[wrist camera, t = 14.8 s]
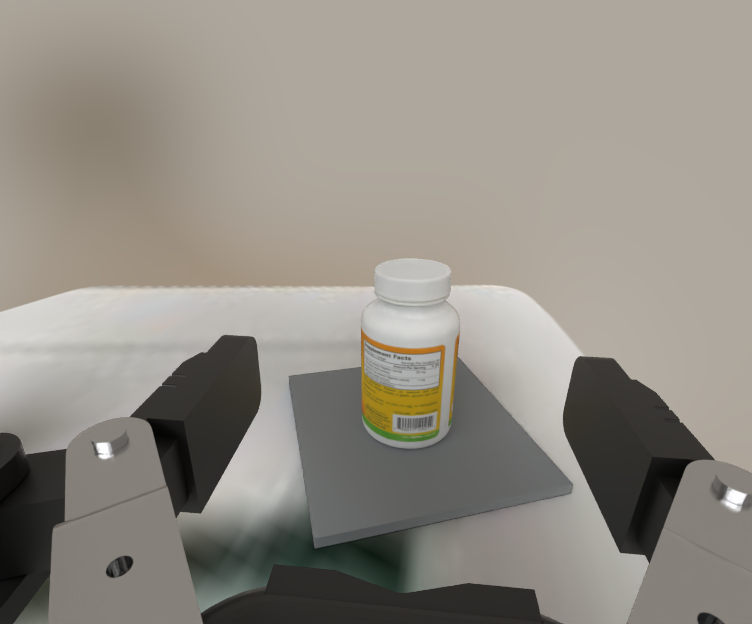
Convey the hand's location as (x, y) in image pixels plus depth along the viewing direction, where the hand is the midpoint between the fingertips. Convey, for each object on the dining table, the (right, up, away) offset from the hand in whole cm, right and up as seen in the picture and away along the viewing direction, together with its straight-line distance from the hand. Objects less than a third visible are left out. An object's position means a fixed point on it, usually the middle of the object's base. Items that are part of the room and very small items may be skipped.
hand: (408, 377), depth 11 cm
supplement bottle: (+1, -5, +16) cm, 17 cm away
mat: (+1, -5, +16) cm, 17 cm away
